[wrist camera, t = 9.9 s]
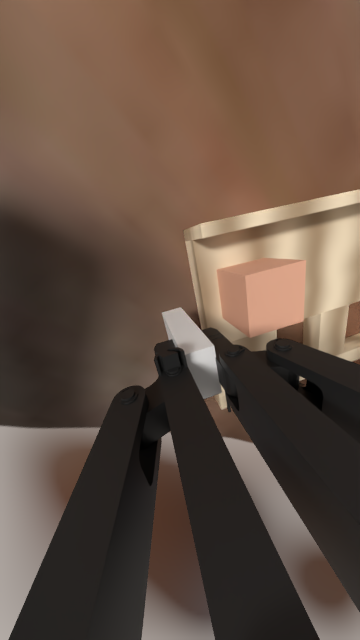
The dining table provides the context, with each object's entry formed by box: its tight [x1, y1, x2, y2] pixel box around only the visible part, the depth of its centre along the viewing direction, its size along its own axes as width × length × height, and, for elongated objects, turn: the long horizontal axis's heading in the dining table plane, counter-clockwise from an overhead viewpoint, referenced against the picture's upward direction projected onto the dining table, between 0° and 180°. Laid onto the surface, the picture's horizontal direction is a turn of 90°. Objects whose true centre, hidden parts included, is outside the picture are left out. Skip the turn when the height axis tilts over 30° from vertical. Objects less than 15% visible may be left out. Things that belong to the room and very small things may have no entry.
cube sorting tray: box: [183, 189, 360, 410], centre depth 23 cm, size 31×21×5 cm
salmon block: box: [217, 258, 306, 338], centre depth 17 cm, size 5×5×5 cm
